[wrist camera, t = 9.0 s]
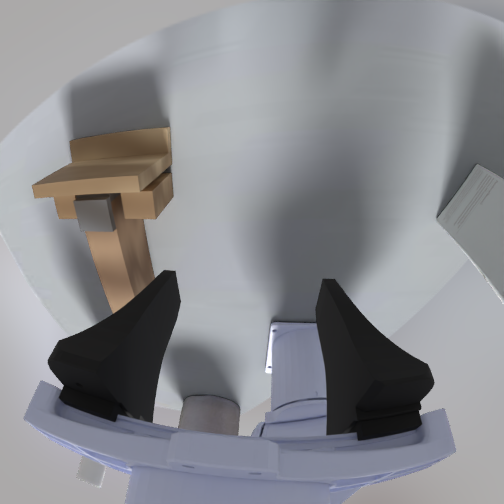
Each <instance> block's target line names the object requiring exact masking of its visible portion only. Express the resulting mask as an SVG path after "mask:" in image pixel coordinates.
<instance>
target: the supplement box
mask: <svg viewBox="0 0 504 504" xmlns="http://www.w3.org/2000/svg"><path fill="white" fill-rule="evenodd" d="M437 223H438V224H439V225H440V226H441V227H442V228H443V229H444V230H445V231H446V232H447V233H448V235H449V236H450V237H451V238H452V239H453V240H454V241H455V243H456V244H457V245H458V246H459V247H460V248H461V250H462V251H463V252H464V253H465V254H466V256H467V257H468V258H469V259H470V261H471V262H472V263H473V264H474V266H475V267H476V268H477V269H478V271H479V272H480V273H481V274H482V276H483V277H484V278H485V280H486V281H487V282H488V284H489V285H490V286H491V288H492V289H493V290H494V292H495V293H496V294H497V296H498V297H499V299H500V300H501V302H502V303H503V304H504V179H503V178H501V177H500V176H498V175H496V174H495V173H493V172H491V171H490V170H488V169H486V168H484V167H482V166H481V165H479V164H476V166H475V167H474V169H473V170H472V172H471V173H470V174H469V176H468V177H467V179H466V180H465V182H464V183H463V184H462V186H461V187H460V189H459V190H458V191H457V193H456V194H455V195H454V197H453V198H452V199H451V201H450V202H449V203H448V205H447V206H446V207H445V209H444V210H443V211H442V213H441V214H440V215H439V217H438V218H437Z"/></svg>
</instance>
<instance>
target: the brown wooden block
mask: <svg viewBox="0 0 504 504" xmlns="http://www.w3.org/2000/svg"><path fill="white" fill-rule="evenodd" d="M73 203H74V207H75V211H76V215H77V219H78V223H79V227H80V230H81V231H85V233H86V236H87V240H88V243H89V247H90V250H91V253H92V257H93V260H94V263H95V266H96V269H97V272H98V275H99V278H100V281H101V283H102V286H103V289H104V291H105V294H106V297H107V299H108V302H109V304H110V307H111V309H112V312H113V314H114V313H115V312H116V311H118V310H119V309H121V308H122V307H123V306H125V305H126V304H127V303H128V302H129V301H131V300H132V299H133V298H134V297H135V296H137V295H138V294H139V293H140V292H141V291H142V290H143V289H144V288H145V287H146V286H148V285H149V284H150V283H151V282H152V281H153V280H154V279H155V277H154V272H153V268H152V263H151V258H150V254H149V249H148V244H147V238H146V233H145V227H144V221H143V219H125V215H124V210H123V204H122V198H121V193H104V194H85V195H77V199H75V200H74V201H73Z"/></svg>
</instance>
